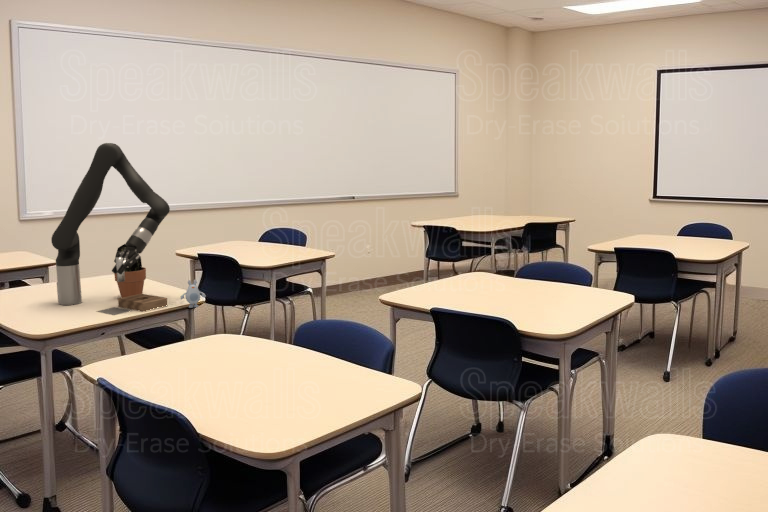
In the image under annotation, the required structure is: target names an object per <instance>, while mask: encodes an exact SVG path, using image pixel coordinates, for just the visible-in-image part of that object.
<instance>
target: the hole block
mask: <svg viewBox="0 0 768 512" xmlns="http://www.w3.org/2000/svg"><path fill="white" fill-rule="evenodd" d="M117 304H118V307H117V308H122V309H127V310H132V309H133V310H134V311H138V310H140V311H139V312H143V311H145V312H147V311H146V310H150V309H153V308H157V307H162V306H166V305H167V306H168V298H167V297H163V296H157V295H152V294H151V295H150V294H146V293H142V294H137V295H133V296H128V297H123V298H121V297H119V298H117ZM167 306H166V307H167ZM162 308H163V307H162ZM133 310H132V311H133ZM150 311H151V310H150Z"/></svg>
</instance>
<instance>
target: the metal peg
mask: <svg viewBox="0 0 768 512" xmlns="http://www.w3.org/2000/svg"><path fill="white" fill-rule="evenodd" d="M123 262H124V259H123V257H116V263H115V265H116V269H117V270H118V269H119V267H120V266H121V265H123ZM124 281H125V273H124V272H123V273H122V274H119V273H118V272H117V281H116V283H117V282H124Z"/></svg>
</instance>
